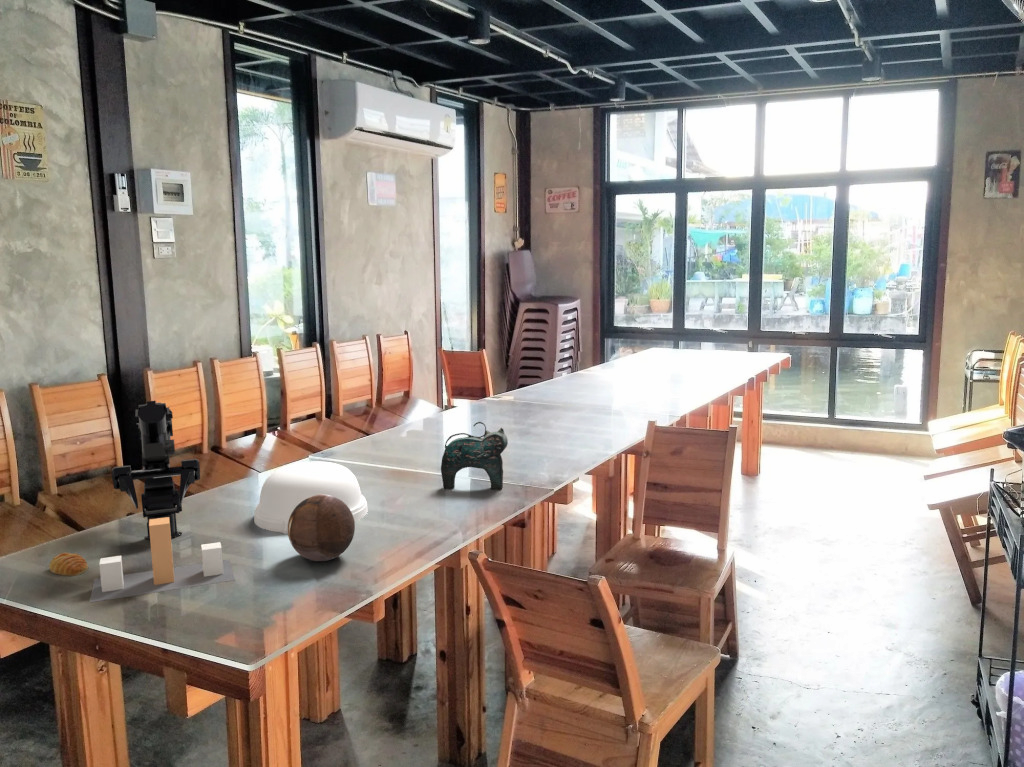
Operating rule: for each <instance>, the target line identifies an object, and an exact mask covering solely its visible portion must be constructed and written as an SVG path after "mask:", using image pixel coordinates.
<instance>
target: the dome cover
mask: <svg viewBox="0 0 1024 767" xmlns="http://www.w3.org/2000/svg"><path fill="white" fill-rule="evenodd" d="M315 495H330V496H333V497H336V498H338V499H340V500H341V501H343V502H344V503H345V504H346V505H347V506H348V508H349V509H350V511H351V512H352V515H353V518H354V522H355V523H357V522H359V521H361V520H362V519H361V518H363V517H364V516H365V515H366V514H367V515H368V513H369V509H368V502H367V500H366V497H365V496H364V495H363V494H362V492H361V488H360V484H359V482H358V479H357V477H356V475H355V474H354V473H353V472H352V471H351V470H350V469H349V468H348V467H346V466H344V465H341V464H338V463H334V462H330V461H319V460H318V461H303V462H297V463H293V464H289V465H286V466H283V467H280V468H278V469H276V470H274V471H273V472H272V473H270V474H269V476H267V478H266V479H265V481H264V482H263V484H262V486H261V489H260V494H259V502H258V503H257V505H256V506H255V509H254V515H253V516H254V518H253V519H254V524H255V525H256V526H257V527H258V528H260V529H263V530H265V529H266V531H269V532H278V533H282V534H283V535H288V522H289V518H290V516H291V514H292V512H293V510H294V509H295V508H296V506H297V505H298V504H299V503H301V502H302V501H303V500H305V499H307V498H309V497H311V496H315ZM367 512H368V513H367ZM367 515H366V516H367ZM366 516H365V517H366ZM365 517H364V518H365ZM364 518H363V519H364ZM360 519H361V520H360ZM358 520H359V521H358ZM356 521H357V522H356Z"/></svg>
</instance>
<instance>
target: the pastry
mask: <svg viewBox="0 0 1024 767" xmlns="http://www.w3.org/2000/svg"><path fill="white" fill-rule="evenodd" d="M48 567H49V570H50V572H51V573H53V574H57V575H61V576H67V577H68V576H69V577H71V576H79V575H81V574H84V573H86V572H87V571H88V569H89V567H88V562H86V560H85V558H84V557H82V556H81V555H79V554H78V553H70V552H61V553H59V554H58V555H56V556H54V557H53V558H52V559H51V561H50V563H49V564H48Z"/></svg>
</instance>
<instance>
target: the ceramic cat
mask: <svg viewBox="0 0 1024 767" xmlns="http://www.w3.org/2000/svg"><path fill="white" fill-rule="evenodd" d="M477 424H482V425H483V426H484V434H483V435H481V436H477V435H472V434H469V433H466V432H461V433H455V434H452V435H450V436H449V437H448V438H447V440H446V441H445V443H444V450H443V455H442V457H441V463H440V464H441V465H440V473H441V474H440V475H441V479H442V480H441V481H442V487H443V489H444V490H454V489H455V486H456V485H455V481H456V480H455V479H456V475H457V473H458V472H459V471H461V470H463V469H466V468H473V469H479V470H480V469H481V470H484V471H485V473H486V474H487V475H488V477H489V482H490V490H502V488H503V485H504V468H503V466H504V465H503V462H504V461H503V458H502V455H501V454H502V453H503V452H504V451H505V450H506V448H507V447H508V443H509V442H508V437H507V435H506V434H505V430H504V428H502V427H500V428H499V430H497V431H491V432H490V431H489V430H487V427H486V424H485V423H484V422H482V421H477V422H475V423H474V424H473V427H475V426H476V425H477ZM461 435H464V436H465V435H466V436H465V437H458V438H456V439H453V440H452V441H450V439H452V438H453V437H456V436H461ZM448 441H450V443H448ZM447 443H448V444H447Z"/></svg>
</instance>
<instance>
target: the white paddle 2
mask: <svg viewBox="0 0 1024 767" xmlns="http://www.w3.org/2000/svg"><path fill="white" fill-rule="evenodd" d="M200 546H201V559H202V560H201V561H202V563H203V573H204V577H206V576H212V575H219V574H223V551H222V550H223V548H222V544H221V541H218V542H212V543H205V544H204V543H203V544H200Z"/></svg>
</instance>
